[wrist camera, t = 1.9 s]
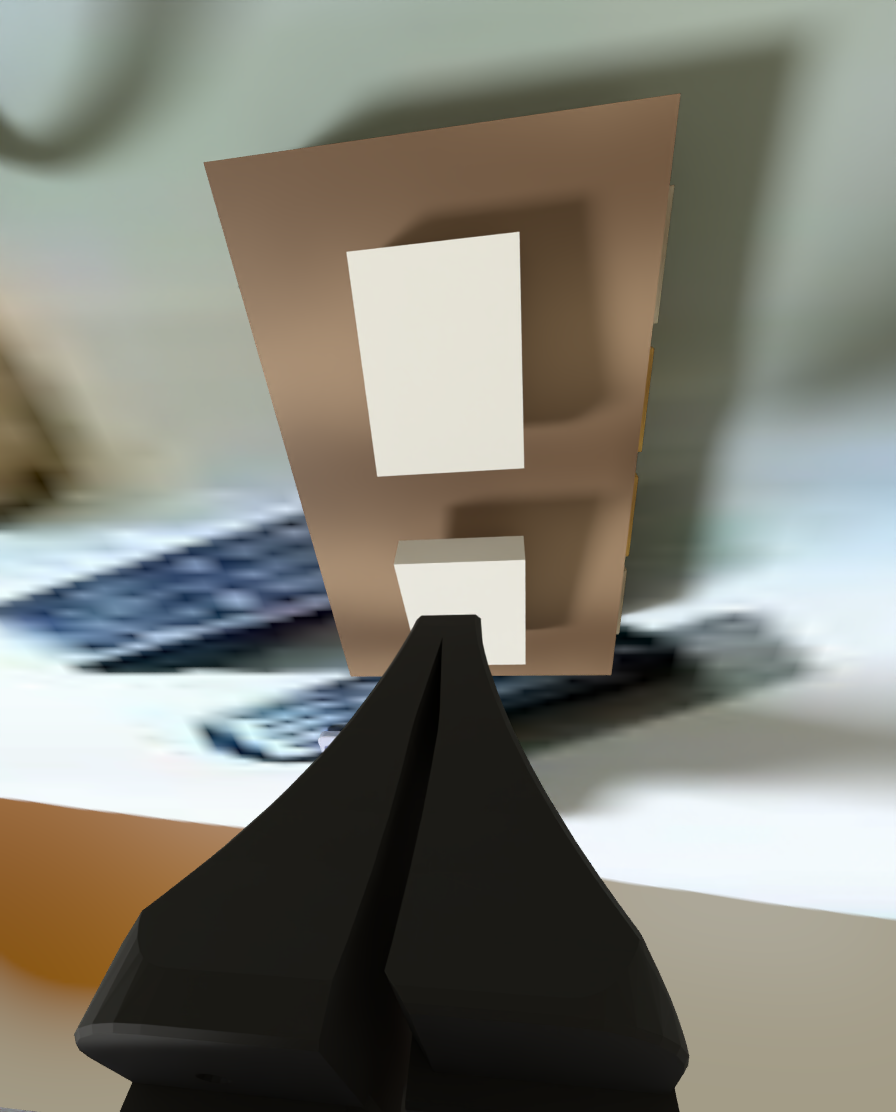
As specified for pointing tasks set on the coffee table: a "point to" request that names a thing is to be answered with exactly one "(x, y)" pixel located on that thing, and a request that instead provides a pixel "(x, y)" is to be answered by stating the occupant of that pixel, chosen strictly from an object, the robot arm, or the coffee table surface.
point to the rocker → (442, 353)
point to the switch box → (547, 353)
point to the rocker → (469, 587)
